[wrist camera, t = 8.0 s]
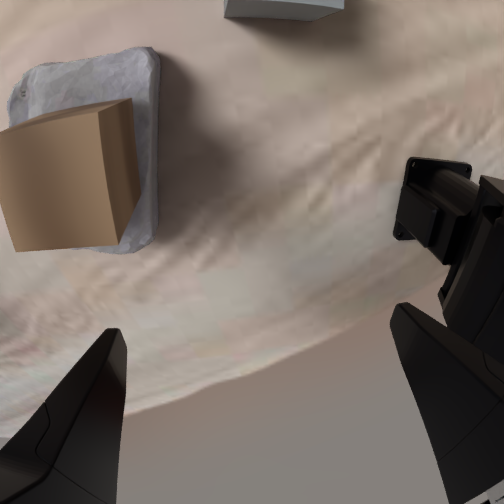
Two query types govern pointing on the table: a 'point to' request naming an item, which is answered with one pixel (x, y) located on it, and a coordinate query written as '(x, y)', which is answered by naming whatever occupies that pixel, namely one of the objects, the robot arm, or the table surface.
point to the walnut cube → (70, 177)
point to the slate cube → (282, 9)
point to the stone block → (100, 90)
